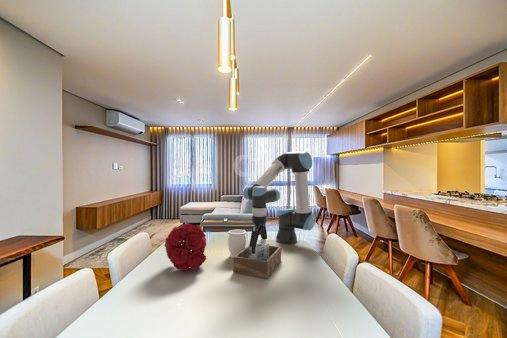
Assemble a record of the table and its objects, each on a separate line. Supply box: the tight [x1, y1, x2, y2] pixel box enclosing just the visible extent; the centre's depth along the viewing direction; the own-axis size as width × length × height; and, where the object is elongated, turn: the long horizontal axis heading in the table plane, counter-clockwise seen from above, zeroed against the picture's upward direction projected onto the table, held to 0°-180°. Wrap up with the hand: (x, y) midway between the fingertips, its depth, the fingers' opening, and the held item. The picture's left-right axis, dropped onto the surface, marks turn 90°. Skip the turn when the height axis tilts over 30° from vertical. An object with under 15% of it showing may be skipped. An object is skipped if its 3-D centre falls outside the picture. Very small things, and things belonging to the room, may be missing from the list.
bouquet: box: [164, 223, 207, 271], centre depth 126 cm, size 22×24×30 cm
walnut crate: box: [232, 244, 282, 280], centre depth 125 cm, size 24×18×8 cm
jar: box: [227, 229, 247, 259], centre depth 139 cm, size 11×10×15 cm
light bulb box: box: [248, 240, 270, 261], centre depth 126 cm, size 11×7×11 cm, turn 144°
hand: (258, 254), depth 125 cm, fingers open, 13 cm apart
